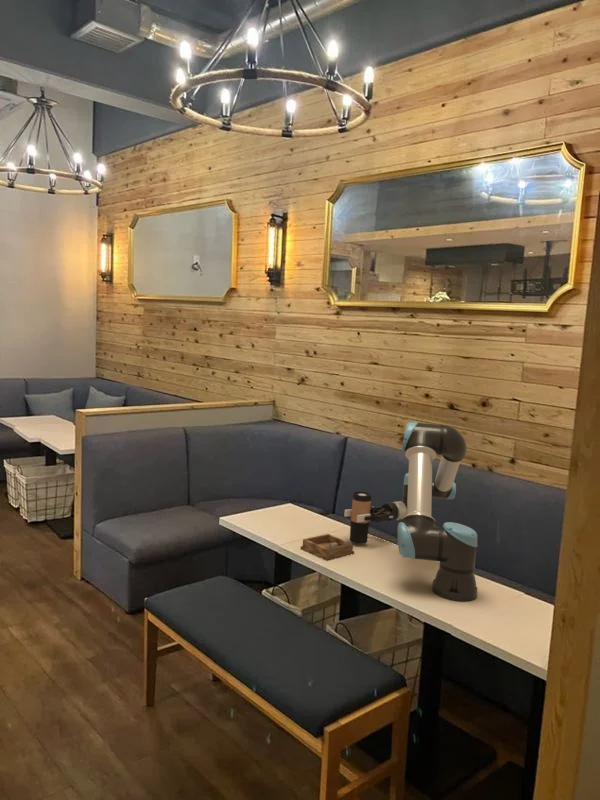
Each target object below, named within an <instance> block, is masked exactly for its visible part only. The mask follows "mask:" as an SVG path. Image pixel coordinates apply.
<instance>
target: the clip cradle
mask: <svg viewBox="0 0 600 800" xmlns="http://www.w3.org/2000/svg"><path fill="white" fill-rule="evenodd" d="M353 548H354V543H353V542H351V541H350V539H342V538H339V537H338V536H334V535H332V534H329V533H326V534H322V535H315V536H312V537H311V536H310V537H308V538H304V539H303V538H302V545H301V546H300V550H302V551H304V552H307V553H308V552H309V554H311V555H312V556H315V557H317V558H319V559H321V558H322V559H321V560H324V561H326V562H327V561H331V560H336V559H340V558H344V557H347V555H348V556H352V555H354V554H355V551H354V549H353ZM351 554H352V555H351ZM343 556H344V557H343ZM335 558H336V559H335Z"/></svg>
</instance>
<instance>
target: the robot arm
mask: <svg viewBox="0 0 600 800" xmlns="http://www.w3.org/2000/svg"><path fill="white" fill-rule="evenodd" d="M467 448H468V446H467V441H466V439H465V437H464V436H463V434H461V432H460V431H459V430H457V428H455V427H454V426H451V425H449V424H438V423H437V424H436V423H423V422H420V421H418V422H414V421H412V422H411V421H410V422H408V423H407V424H406V426H405V430H404V434H403V439H402V446H401V451H402V452H404V454H405V457H406V459H407V460H408V472H406V473H405V475H404V478H403V479H404V480H403V487H402V498H401V499H402V500H400V501H393V502H391V501H390V502H384V503H383V504H382V505H381V506H377V507H376V506H375V505H372V504H371V508H370V514H364V515H357V522H365V521H369V522H374V523H381V522H385V521H399V520H402V521H401V522H398V524H397V547H398V552H399V555H400V556H402V558H403V557H404V558H409V559H412V560H425V561H432V562H439V567H438V569H437V572H436V574H435V578H434V579H433V580H432V584H431V591H433V593H435V594H436V595H438V597H441V598H445V599H448V600H452V601H456V602H458V601H459V602H468V601H469V602H470V601H473V600H475V599H477V597H478V587H477V582H476V577H475V566H476V557H477V548H478V533H477V531H475V530H474V529H473V528H471V527H469V526H467V525H464V524H462V523H457V522H454V521H453V522H452V521H449V522H448V521H446V522H444V523H443V524H442V526H437V521H436V519H435V518H434V517H433V516H432V506H433V505H432V503H433V502H432V499H434V498H435V499H444V500H453V499H455V498H456V493H457V483H455V479H456V476H457V474H458V473H457V472H458V469H459V467H460V463H461V461H463V460H464V459H465V457H466V454H467V450H468V449H467ZM437 456H441V457H440V461H439V464H438V468H437V472H436V475H435V479H433V461H434V460H435V459H436V458H437ZM351 512H352V508H351V509H349V508H348V509H344V517H345V518H346V517H348V518H349V517H351Z"/></svg>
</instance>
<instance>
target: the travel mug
mask: <svg viewBox="0 0 600 800" xmlns="http://www.w3.org/2000/svg"><path fill="white" fill-rule="evenodd" d="M372 496H373V495H372V494H370V492H366V491H354V492H353V494H352V501H351V502H352V505H351V509H352V512H351V516H350V530H349V540H350V543H352V544H357V545H359V544H360V545H363V544H366V543H368V537H369V529H370V527H369V526H370V521H365V522H357V515H364V514H370V508H371V506H372Z"/></svg>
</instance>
